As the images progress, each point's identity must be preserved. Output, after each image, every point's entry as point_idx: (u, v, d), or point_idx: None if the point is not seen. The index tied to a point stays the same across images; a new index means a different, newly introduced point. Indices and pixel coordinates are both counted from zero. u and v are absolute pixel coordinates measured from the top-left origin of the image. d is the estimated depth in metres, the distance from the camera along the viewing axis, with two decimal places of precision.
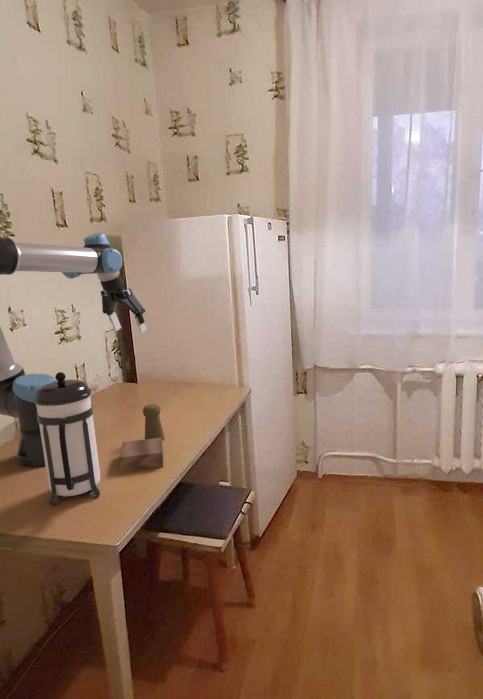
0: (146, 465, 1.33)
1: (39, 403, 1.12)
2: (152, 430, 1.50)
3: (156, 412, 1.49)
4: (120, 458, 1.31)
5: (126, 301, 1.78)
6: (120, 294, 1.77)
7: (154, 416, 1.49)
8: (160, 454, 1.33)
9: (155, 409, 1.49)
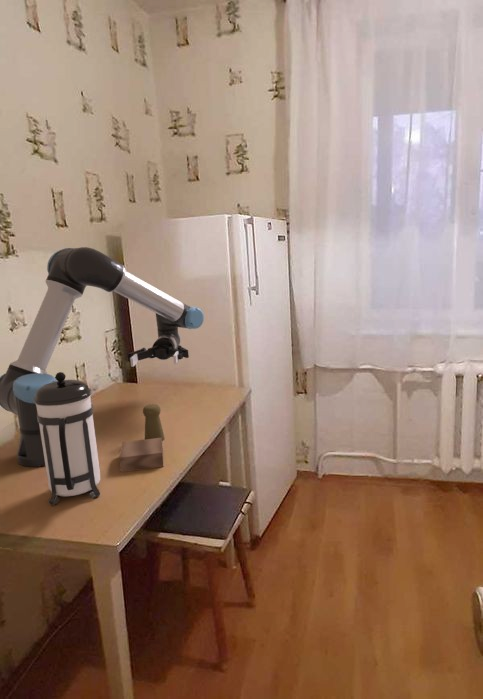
0: (146, 465, 1.33)
1: (39, 403, 1.12)
2: (152, 430, 1.50)
3: (156, 412, 1.49)
4: (120, 458, 1.31)
5: None
6: None
7: (154, 416, 1.49)
8: (160, 454, 1.33)
9: (155, 409, 1.49)
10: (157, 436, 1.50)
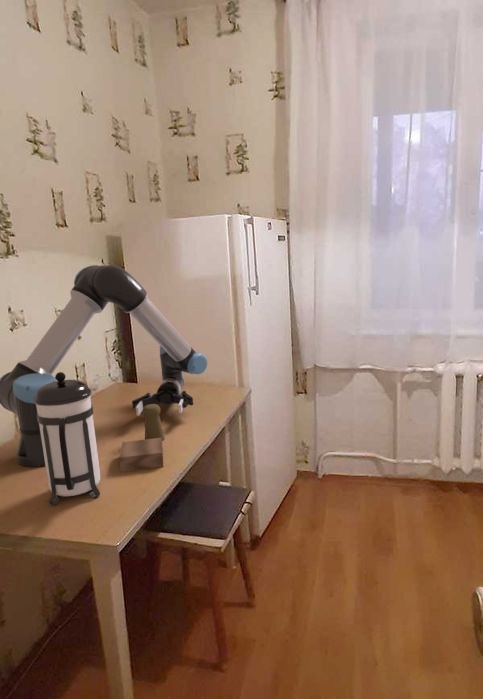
0: (146, 465, 1.33)
1: (39, 403, 1.12)
2: (152, 430, 1.50)
3: (156, 412, 1.49)
4: (120, 458, 1.31)
5: None
6: (175, 392, 1.74)
7: (154, 416, 1.49)
8: (160, 454, 1.33)
9: (155, 409, 1.49)
10: (157, 436, 1.50)
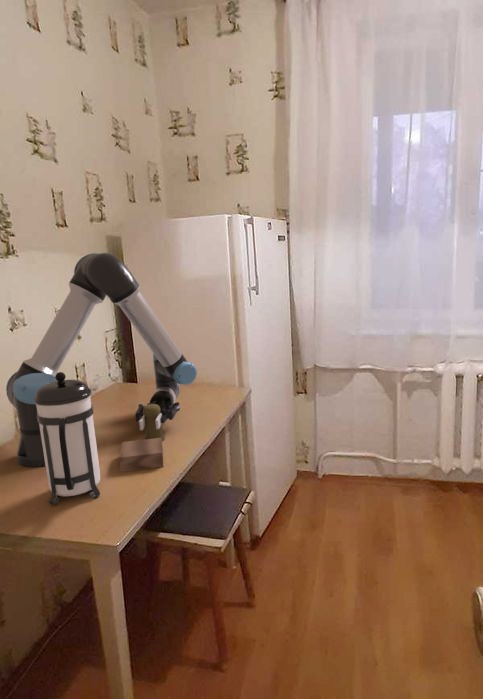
0: (146, 465, 1.33)
1: (39, 403, 1.12)
2: (152, 430, 1.50)
3: (156, 412, 1.49)
4: (120, 458, 1.31)
5: (165, 408, 1.59)
6: (168, 402, 1.63)
7: (154, 416, 1.49)
8: (160, 454, 1.33)
9: (155, 409, 1.49)
10: (157, 436, 1.50)
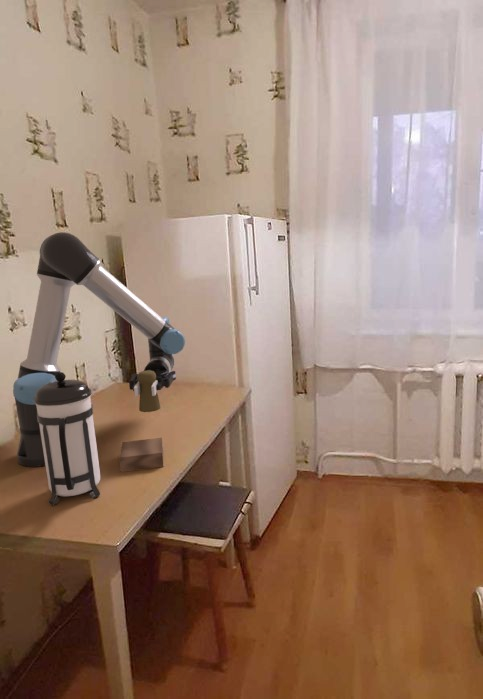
0: (146, 465, 1.33)
1: (39, 403, 1.12)
2: (147, 397, 1.40)
3: (152, 378, 1.40)
4: (120, 458, 1.31)
5: None
6: (164, 371, 1.53)
7: (150, 383, 1.40)
8: (160, 454, 1.33)
9: (151, 375, 1.40)
10: (153, 404, 1.41)
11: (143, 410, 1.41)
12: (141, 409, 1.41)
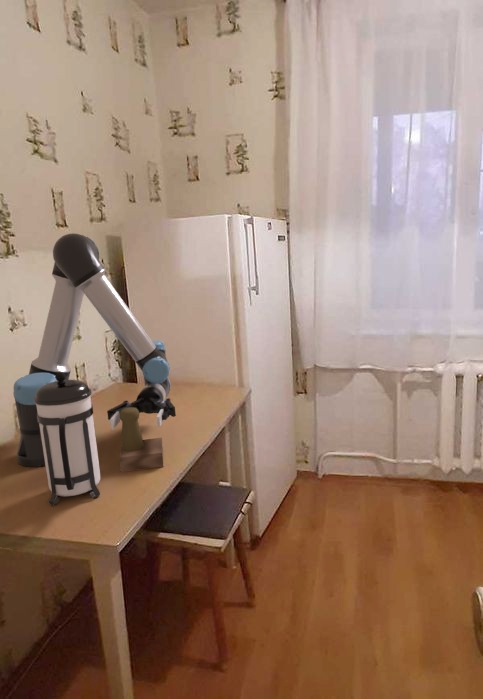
0: (146, 465, 1.33)
1: (39, 403, 1.12)
2: (130, 436, 1.34)
3: (134, 417, 1.34)
4: (120, 458, 1.31)
5: None
6: (158, 400, 1.47)
7: (132, 421, 1.34)
8: (160, 454, 1.33)
9: (133, 413, 1.34)
10: (135, 443, 1.35)
11: (125, 449, 1.35)
12: (123, 448, 1.35)
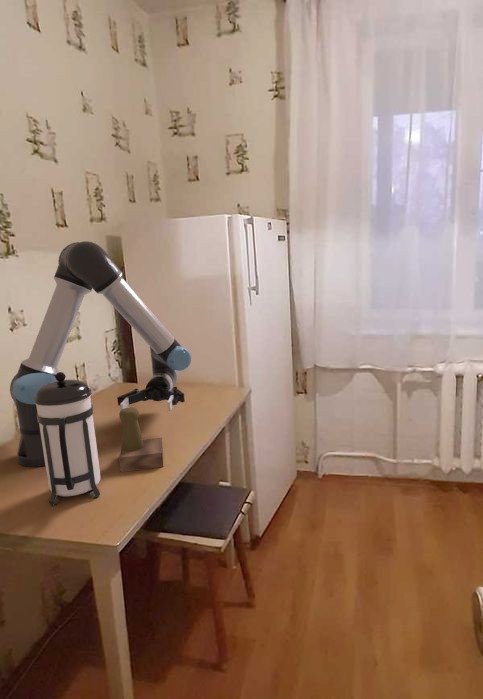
0: (146, 465, 1.33)
1: (39, 403, 1.12)
2: (130, 436, 1.34)
3: (134, 417, 1.34)
4: (120, 458, 1.31)
5: None
6: (165, 388, 1.58)
7: (132, 421, 1.34)
8: (160, 454, 1.33)
9: (133, 413, 1.34)
10: (135, 443, 1.35)
11: (125, 449, 1.35)
12: (123, 448, 1.35)
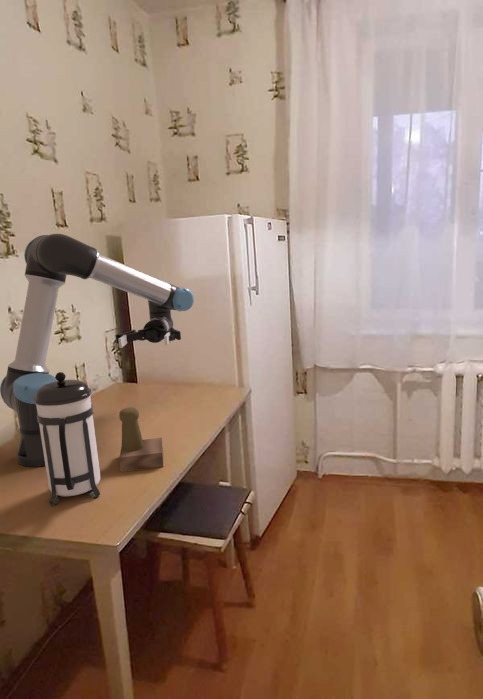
0: (146, 465, 1.33)
1: (39, 403, 1.12)
2: (130, 436, 1.34)
3: (134, 416, 1.34)
4: (120, 458, 1.31)
5: None
6: (162, 329, 1.63)
7: (132, 421, 1.34)
8: (160, 454, 1.33)
9: (133, 413, 1.34)
10: (135, 443, 1.35)
11: (125, 449, 1.35)
12: (123, 448, 1.35)
